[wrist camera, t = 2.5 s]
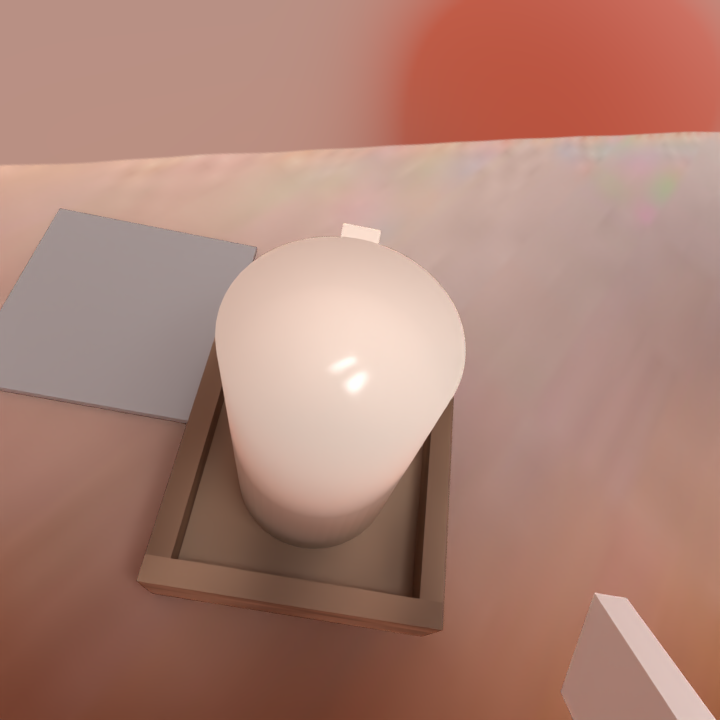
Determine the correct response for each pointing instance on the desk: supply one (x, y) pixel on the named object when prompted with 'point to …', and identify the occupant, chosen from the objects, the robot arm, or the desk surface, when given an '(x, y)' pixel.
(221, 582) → the holder
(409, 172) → the desk surface
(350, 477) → the white rounded piece
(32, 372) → the mat
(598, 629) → the robot arm
